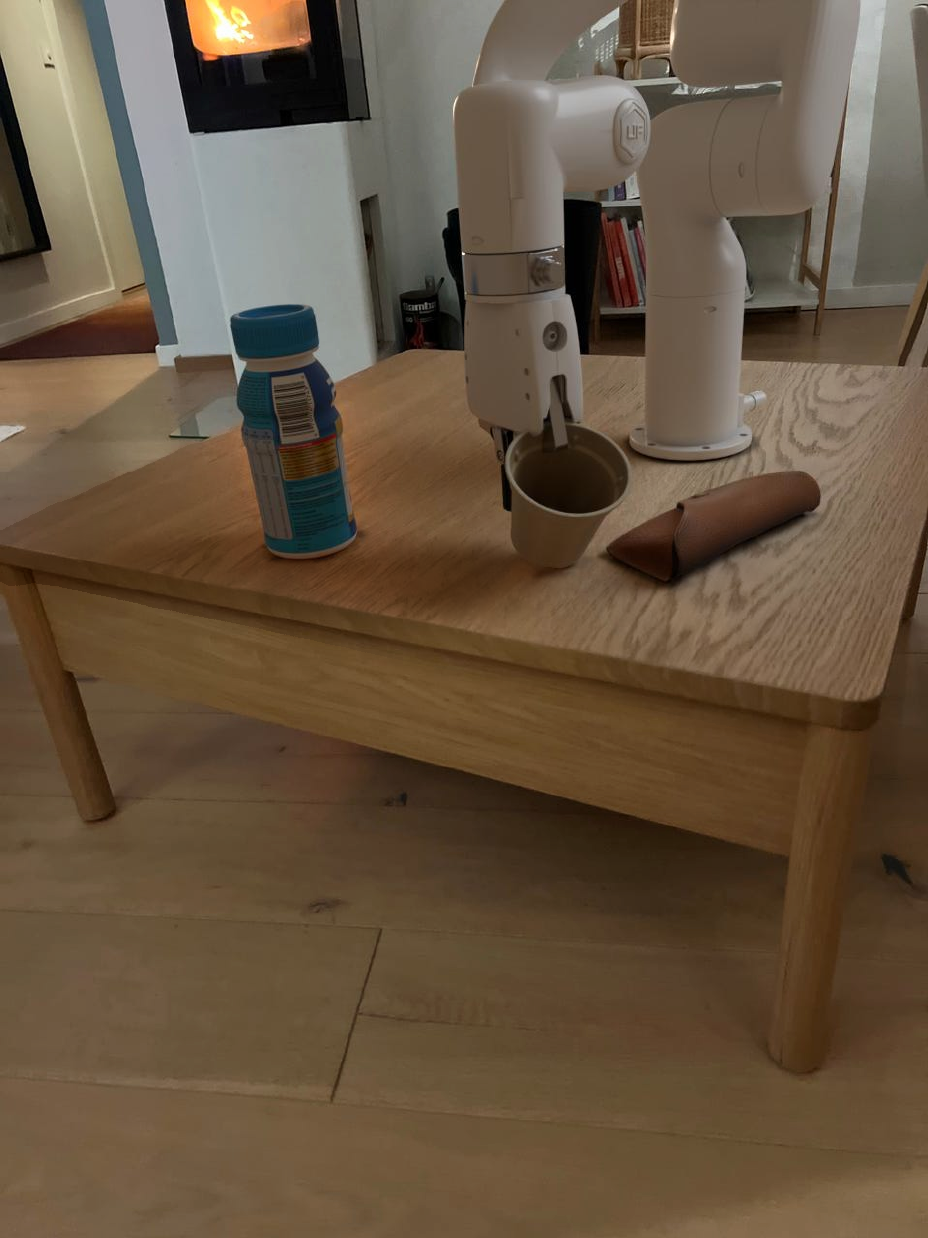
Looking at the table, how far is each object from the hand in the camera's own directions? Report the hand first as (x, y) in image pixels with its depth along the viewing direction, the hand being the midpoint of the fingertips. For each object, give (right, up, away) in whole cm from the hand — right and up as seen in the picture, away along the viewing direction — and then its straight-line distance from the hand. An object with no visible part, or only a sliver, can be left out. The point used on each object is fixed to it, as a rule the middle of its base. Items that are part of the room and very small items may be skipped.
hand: (524, 508), depth 75 cm
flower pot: (+2, -3, -2) cm, 4 cm away
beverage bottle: (-19, -3, +6) cm, 20 cm away
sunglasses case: (+16, -3, 0) cm, 16 cm away
